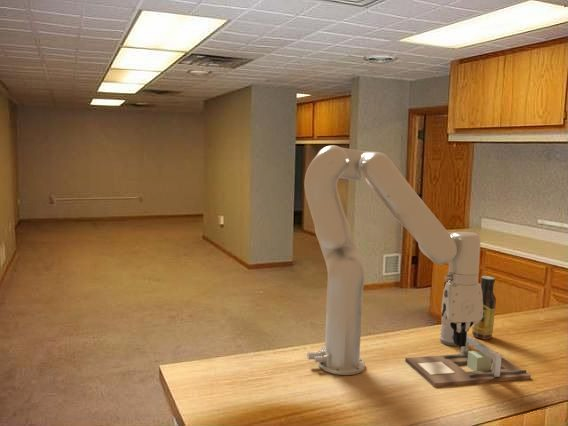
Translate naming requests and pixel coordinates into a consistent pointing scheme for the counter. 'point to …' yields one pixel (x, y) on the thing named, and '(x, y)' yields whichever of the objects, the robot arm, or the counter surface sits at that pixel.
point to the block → (478, 361)
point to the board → (461, 371)
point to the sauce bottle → (486, 310)
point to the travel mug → (447, 333)
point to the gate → (486, 350)
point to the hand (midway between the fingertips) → (459, 344)
